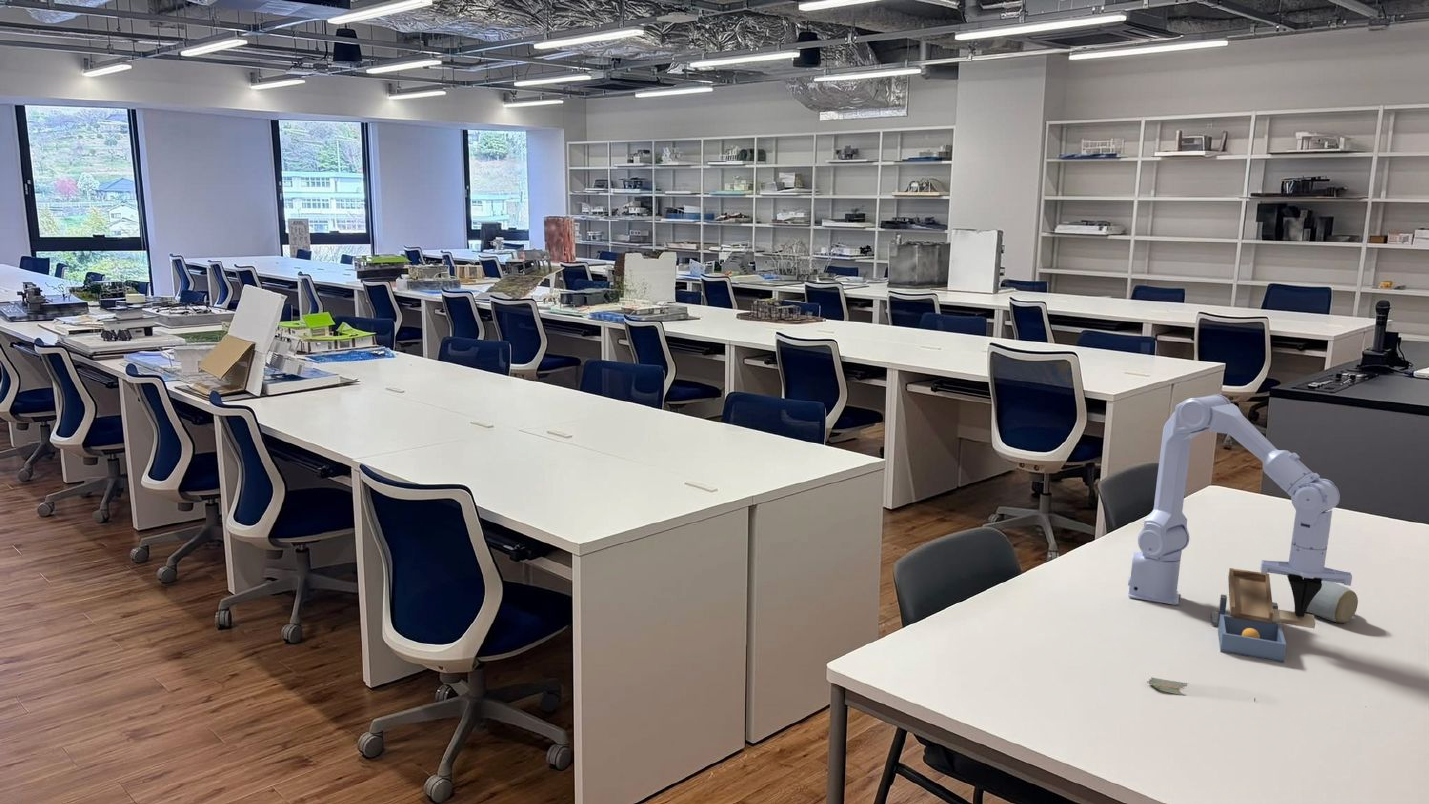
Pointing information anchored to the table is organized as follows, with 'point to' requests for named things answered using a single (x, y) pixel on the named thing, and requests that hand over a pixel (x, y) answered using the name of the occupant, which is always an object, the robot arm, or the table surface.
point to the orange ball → (1251, 633)
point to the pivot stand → (1222, 609)
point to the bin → (1263, 648)
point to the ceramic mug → (1334, 602)
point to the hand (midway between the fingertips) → (1299, 614)
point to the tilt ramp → (1259, 600)
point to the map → (1168, 685)
